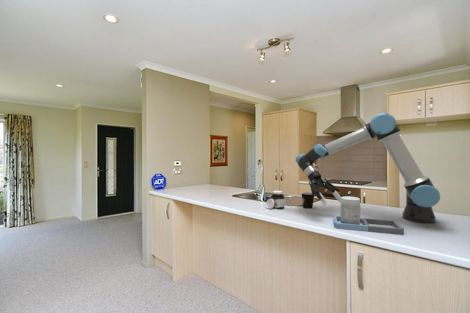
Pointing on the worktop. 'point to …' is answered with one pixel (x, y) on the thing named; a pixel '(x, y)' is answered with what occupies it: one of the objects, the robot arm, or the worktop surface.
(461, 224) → the worktop surface
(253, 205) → the worktop surface
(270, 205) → the spread jar
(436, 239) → the worktop surface
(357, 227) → the bay frame
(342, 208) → the supplement tub
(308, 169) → the robot arm
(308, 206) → the coffee mug
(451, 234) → the worktop surface
